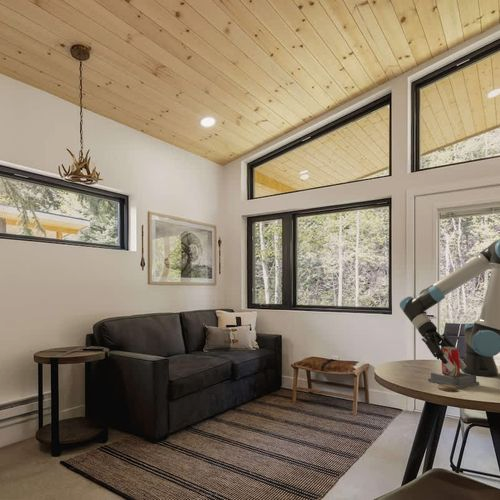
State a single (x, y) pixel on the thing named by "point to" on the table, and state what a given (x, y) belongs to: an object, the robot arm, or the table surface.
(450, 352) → the soda can
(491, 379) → the table surface
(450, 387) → the walnut coaster
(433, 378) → the dock
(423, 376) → the table surface
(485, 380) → the table surface
